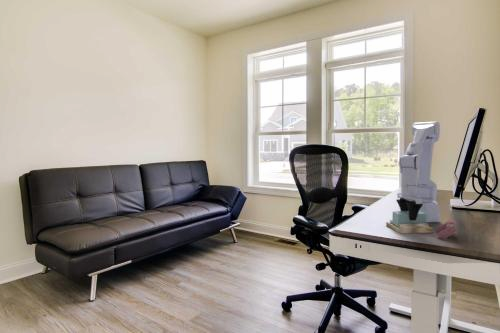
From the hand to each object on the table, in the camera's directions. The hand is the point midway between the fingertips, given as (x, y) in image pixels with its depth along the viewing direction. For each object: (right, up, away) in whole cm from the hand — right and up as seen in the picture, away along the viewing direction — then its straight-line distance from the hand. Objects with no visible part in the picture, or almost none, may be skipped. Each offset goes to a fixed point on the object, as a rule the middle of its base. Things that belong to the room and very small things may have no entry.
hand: (408, 218), depth 119 cm
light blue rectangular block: (0, -3, 0) cm, 3 cm away
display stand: (0, -4, 0) cm, 4 cm away
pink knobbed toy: (+8, -5, -10) cm, 14 cm away
